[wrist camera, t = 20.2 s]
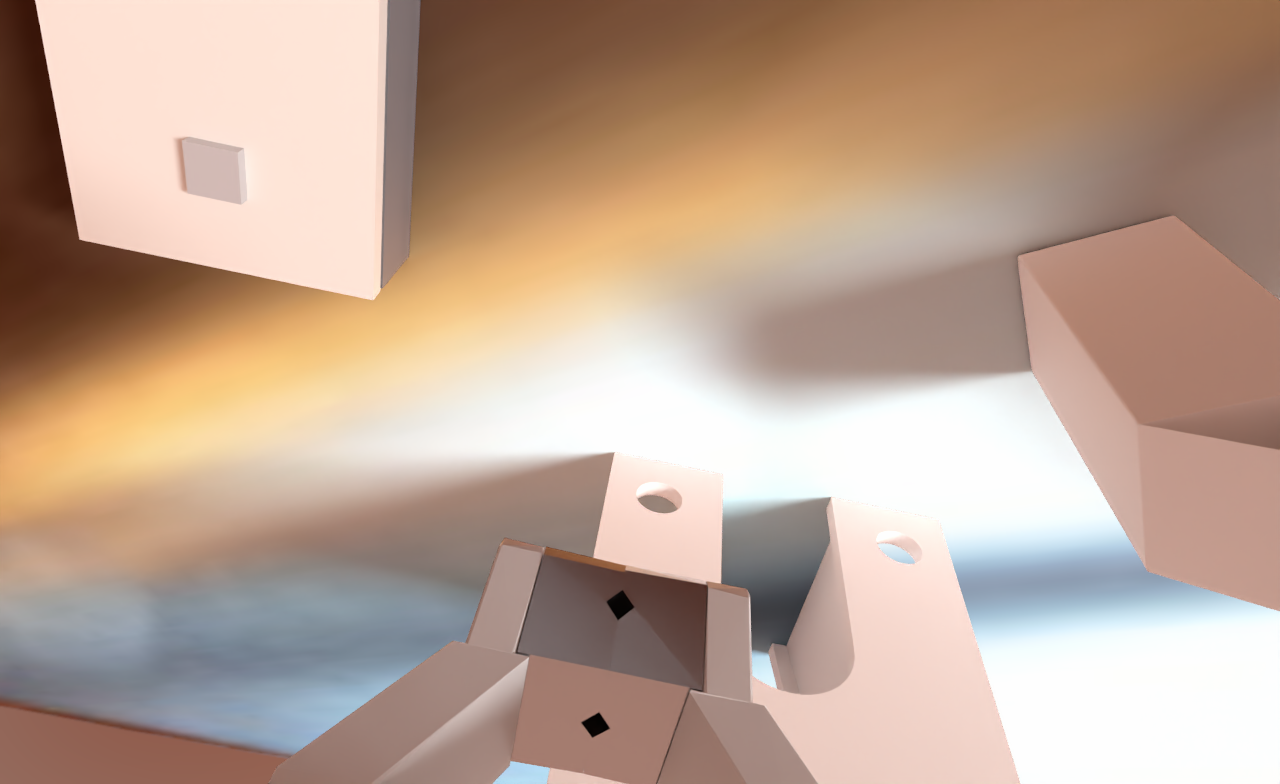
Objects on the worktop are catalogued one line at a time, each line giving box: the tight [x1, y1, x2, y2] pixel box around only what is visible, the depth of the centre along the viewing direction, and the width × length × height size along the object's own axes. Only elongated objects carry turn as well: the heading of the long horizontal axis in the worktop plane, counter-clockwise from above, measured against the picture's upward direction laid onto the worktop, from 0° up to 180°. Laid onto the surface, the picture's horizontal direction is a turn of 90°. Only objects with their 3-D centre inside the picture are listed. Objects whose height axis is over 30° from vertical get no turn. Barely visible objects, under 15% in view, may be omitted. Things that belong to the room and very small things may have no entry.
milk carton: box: [1018, 215, 1280, 611], centre depth 34 cm, size 7×7×19 cm
